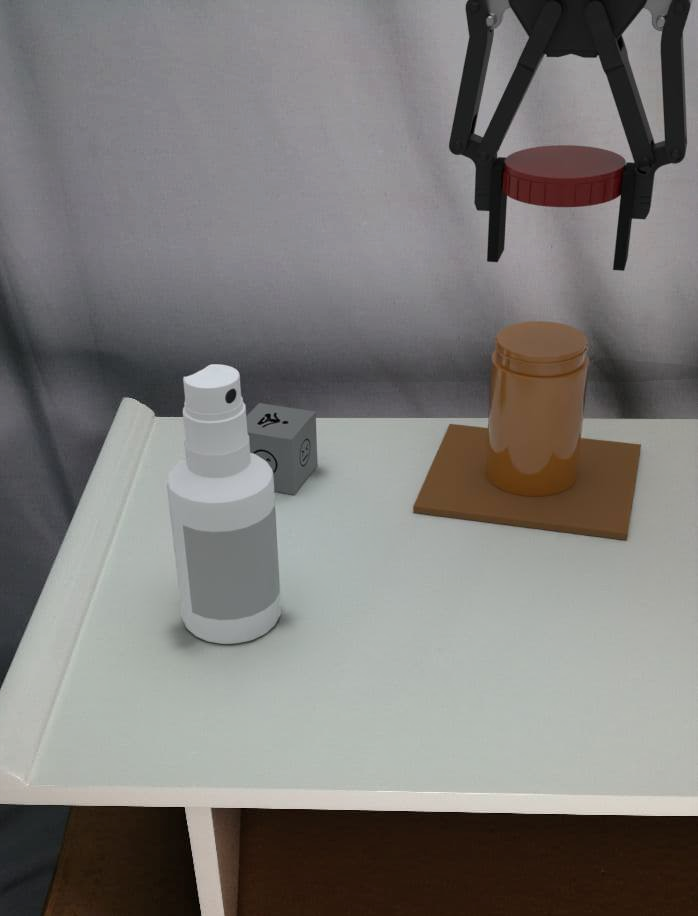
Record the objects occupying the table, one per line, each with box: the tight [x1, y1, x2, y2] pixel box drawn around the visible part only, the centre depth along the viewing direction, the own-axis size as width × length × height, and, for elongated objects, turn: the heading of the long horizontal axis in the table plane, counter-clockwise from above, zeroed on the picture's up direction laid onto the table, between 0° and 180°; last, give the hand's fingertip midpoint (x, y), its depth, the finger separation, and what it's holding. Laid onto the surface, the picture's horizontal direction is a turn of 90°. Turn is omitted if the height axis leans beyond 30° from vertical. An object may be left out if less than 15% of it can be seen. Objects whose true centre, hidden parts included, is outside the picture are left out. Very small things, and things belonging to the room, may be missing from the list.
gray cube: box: [246, 402, 319, 496], centre depth 95 cm, size 5×5×5 cm
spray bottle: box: [166, 363, 282, 645], centre depth 76 cm, size 7×7×18 cm
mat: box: [412, 423, 642, 541], centre depth 94 cm, size 16×14×1 cm
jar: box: [485, 320, 590, 496], centre depth 91 cm, size 7×7×12 cm
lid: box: [503, 144, 627, 208], centre depth 79 cm, size 8×8×2 cm
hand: (557, 259), depth 82 cm, fingers closed on lid, 8 cm apart
